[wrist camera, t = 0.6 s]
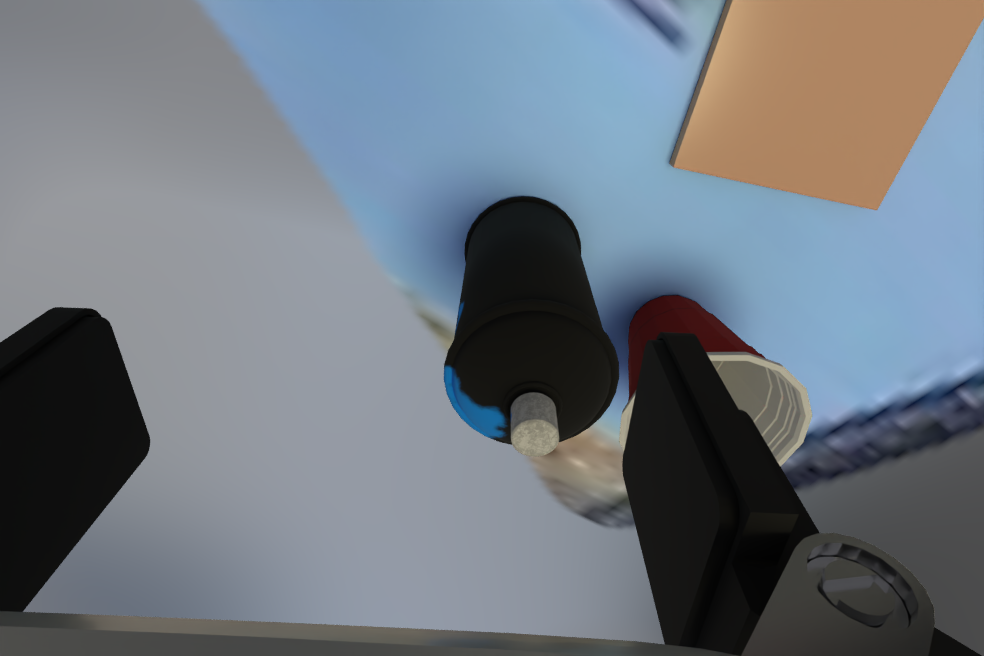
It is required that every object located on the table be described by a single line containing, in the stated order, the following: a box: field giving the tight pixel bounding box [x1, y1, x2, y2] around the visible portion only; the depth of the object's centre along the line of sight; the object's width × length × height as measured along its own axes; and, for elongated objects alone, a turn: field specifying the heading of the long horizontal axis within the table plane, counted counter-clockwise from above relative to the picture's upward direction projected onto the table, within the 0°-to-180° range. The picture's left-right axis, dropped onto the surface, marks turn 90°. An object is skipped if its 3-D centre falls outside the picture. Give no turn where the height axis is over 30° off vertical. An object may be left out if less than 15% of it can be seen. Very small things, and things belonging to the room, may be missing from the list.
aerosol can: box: [444, 196, 619, 457], centre depth 32 cm, size 8×8×20 cm
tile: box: [669, 0, 984, 210], centre depth 34 cm, size 14×14×1 cm
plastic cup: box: [619, 295, 812, 466], centre depth 38 cm, size 11×11×12 cm
